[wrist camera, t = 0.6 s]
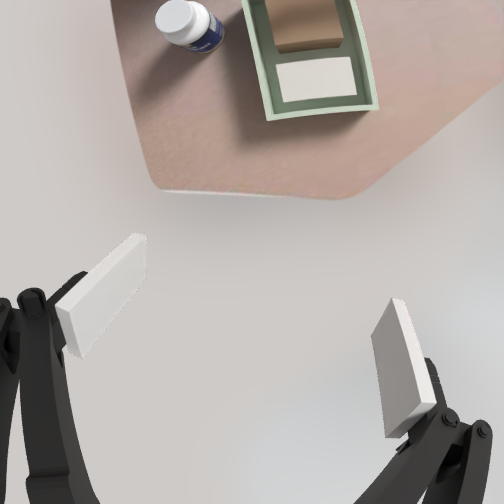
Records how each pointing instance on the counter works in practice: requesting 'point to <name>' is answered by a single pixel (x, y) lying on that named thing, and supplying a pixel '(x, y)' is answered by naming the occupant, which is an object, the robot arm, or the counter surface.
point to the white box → (316, 79)
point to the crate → (270, 57)
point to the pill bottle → (189, 26)
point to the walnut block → (304, 25)
